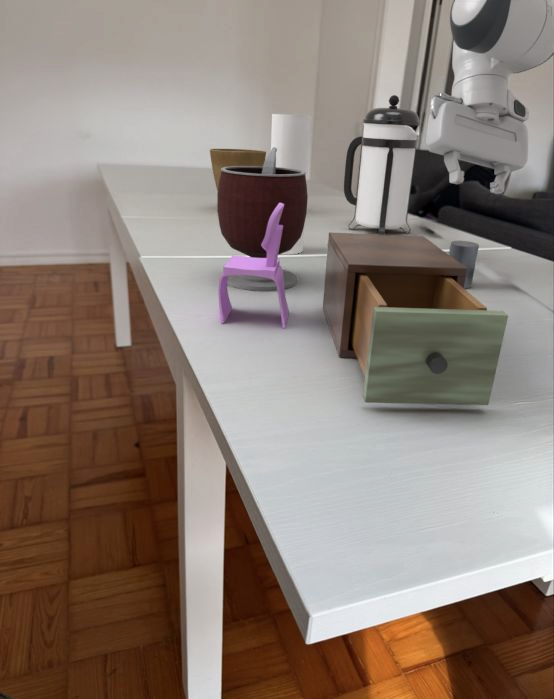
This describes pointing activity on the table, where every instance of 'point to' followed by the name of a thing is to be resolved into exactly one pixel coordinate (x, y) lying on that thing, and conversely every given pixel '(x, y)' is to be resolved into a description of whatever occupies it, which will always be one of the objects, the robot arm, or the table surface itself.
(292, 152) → the cylindrical container
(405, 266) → the cabinet
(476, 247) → the steel cylinder
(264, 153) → the plant pot
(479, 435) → the table surface
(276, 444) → the table surface
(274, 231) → the toy chair
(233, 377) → the table surface
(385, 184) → the coffee press
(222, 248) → the table surface
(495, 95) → the robot arm
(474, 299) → the drawer
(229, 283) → the mate gourd
